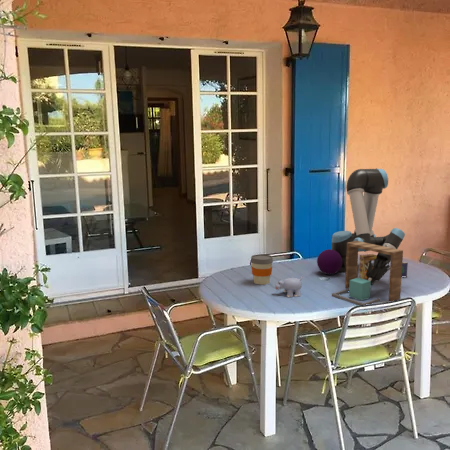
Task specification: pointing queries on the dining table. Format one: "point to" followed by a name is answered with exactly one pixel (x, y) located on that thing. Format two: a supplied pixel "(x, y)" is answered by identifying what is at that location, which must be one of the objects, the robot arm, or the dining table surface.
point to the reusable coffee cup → (261, 268)
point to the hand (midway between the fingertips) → (365, 289)
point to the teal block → (359, 288)
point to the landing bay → (351, 299)
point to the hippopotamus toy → (290, 286)
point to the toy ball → (329, 261)
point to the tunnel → (395, 253)
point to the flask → (404, 268)
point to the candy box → (365, 264)
